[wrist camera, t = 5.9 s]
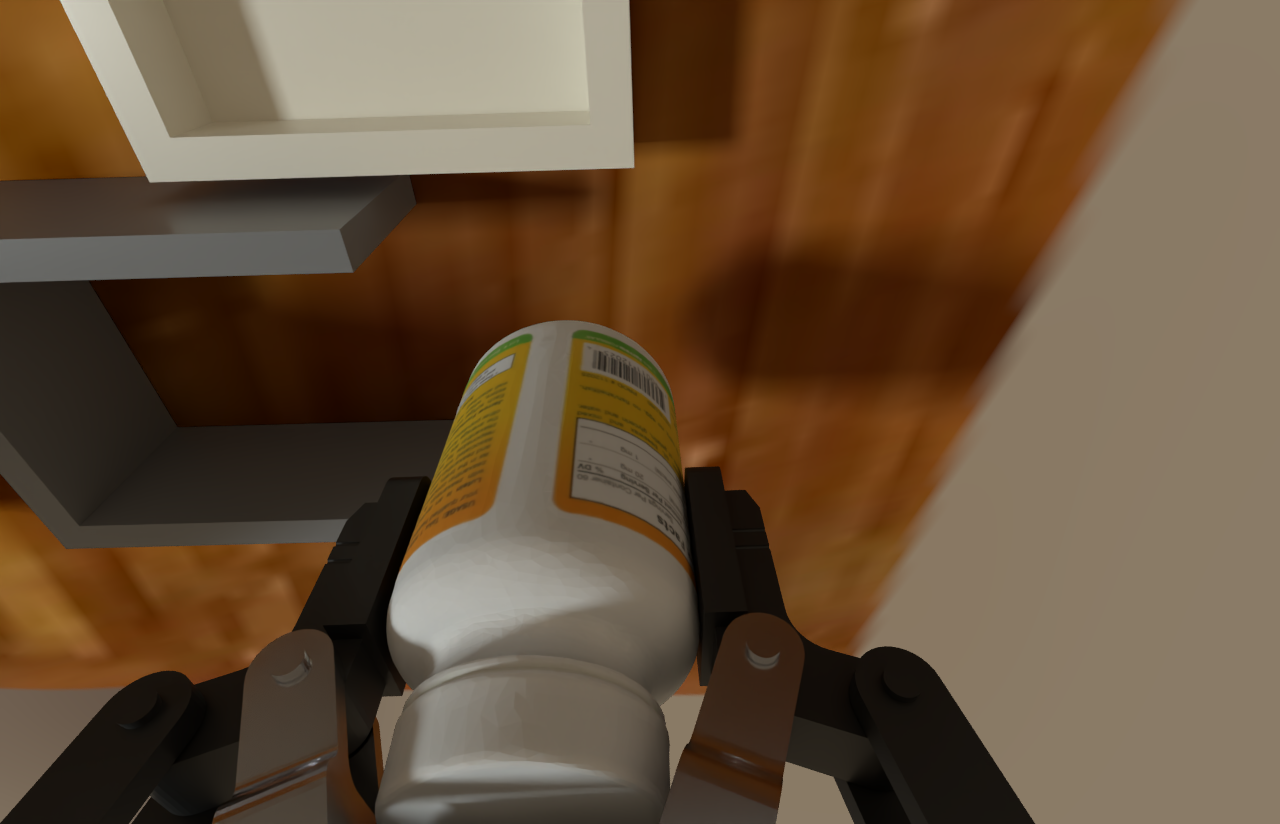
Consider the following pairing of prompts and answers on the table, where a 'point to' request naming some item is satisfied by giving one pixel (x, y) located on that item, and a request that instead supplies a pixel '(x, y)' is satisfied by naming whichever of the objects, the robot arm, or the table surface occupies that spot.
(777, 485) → the table surface
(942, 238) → the table surface
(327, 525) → the dock
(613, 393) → the supplement bottle
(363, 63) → the tray
